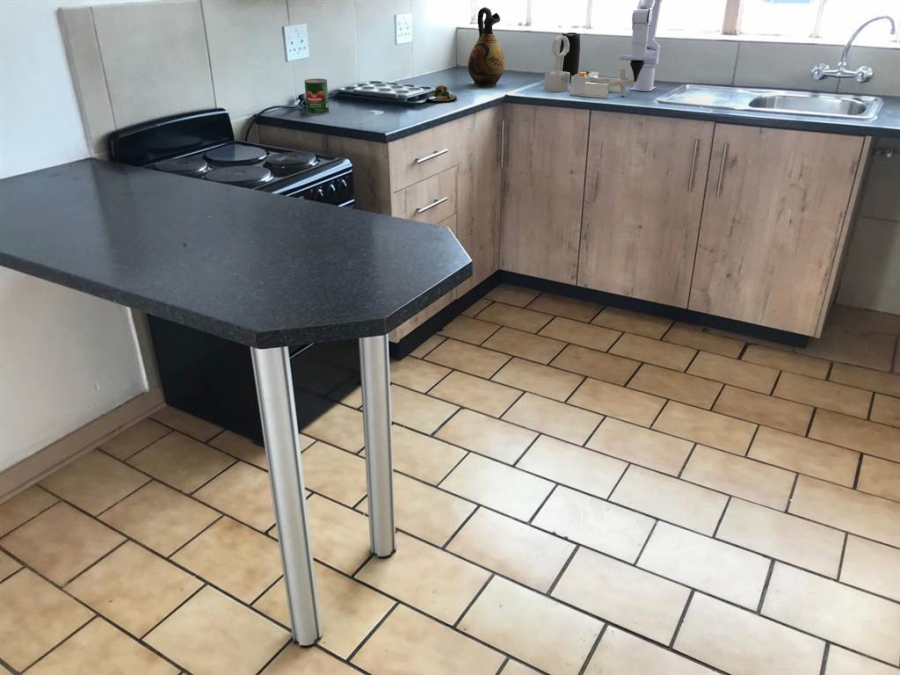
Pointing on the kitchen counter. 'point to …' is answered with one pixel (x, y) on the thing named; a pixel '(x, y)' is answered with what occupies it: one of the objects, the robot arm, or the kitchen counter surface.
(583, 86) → the motor housing
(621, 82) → the pipe connector
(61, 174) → the kitchen counter surface
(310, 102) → the canned tomato
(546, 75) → the engine component
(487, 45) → the ceramic jug
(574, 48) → the portable speaker
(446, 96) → the burger
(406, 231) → the kitchen counter surface
